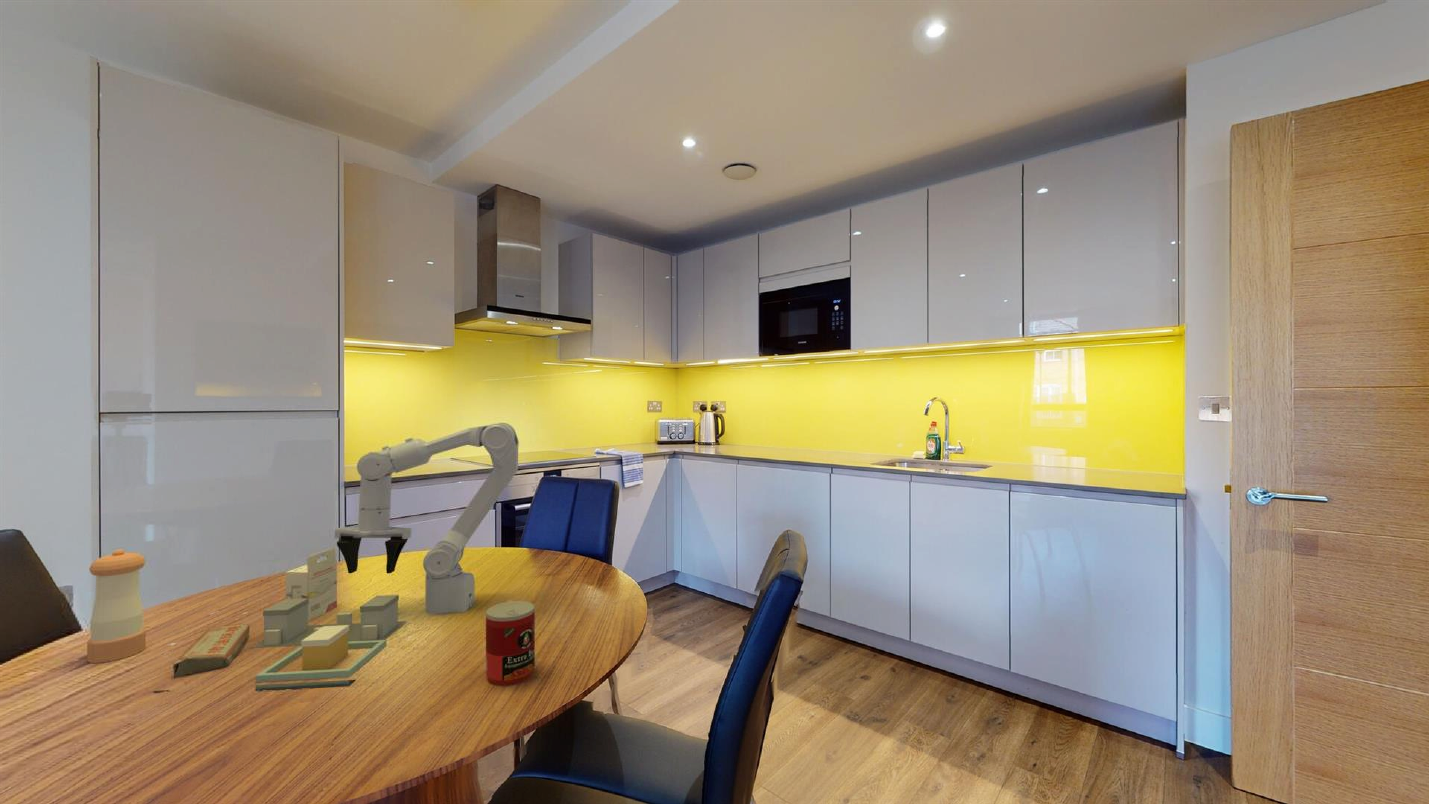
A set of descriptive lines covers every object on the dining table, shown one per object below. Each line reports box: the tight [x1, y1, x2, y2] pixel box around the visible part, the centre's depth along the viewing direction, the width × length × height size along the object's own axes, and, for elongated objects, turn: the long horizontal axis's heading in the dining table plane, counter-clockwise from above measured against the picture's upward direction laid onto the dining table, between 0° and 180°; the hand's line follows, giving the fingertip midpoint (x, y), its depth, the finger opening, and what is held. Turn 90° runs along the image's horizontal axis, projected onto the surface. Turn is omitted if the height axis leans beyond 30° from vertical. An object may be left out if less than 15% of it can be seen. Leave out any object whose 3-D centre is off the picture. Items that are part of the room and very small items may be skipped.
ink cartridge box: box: [285, 547, 338, 622], centre depth 116 cm, size 9×5×15 cm, turn 179°
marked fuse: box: [300, 625, 349, 671], centre depth 93 cm, size 4×6×6 cm
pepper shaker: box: [86, 549, 147, 664], centre depth 101 cm, size 7×7×19 cm
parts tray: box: [254, 639, 387, 692], centre depth 93 cm, size 14×12×2 cm
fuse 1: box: [262, 598, 309, 642], centre depth 104 cm, size 4×6×6 cm
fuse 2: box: [359, 594, 400, 638], centre depth 106 cm, size 4×6×6 cm
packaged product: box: [152, 622, 251, 694], centre depth 96 cm, size 18×5×10 cm
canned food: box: [485, 600, 536, 686], centre depth 91 cm, size 8×8×11 cm
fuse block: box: [250, 612, 408, 649], centre depth 105 cm, size 23×10×4 cm, turn 96°
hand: (371, 572), depth 115 cm, fingers open, 7 cm apart
